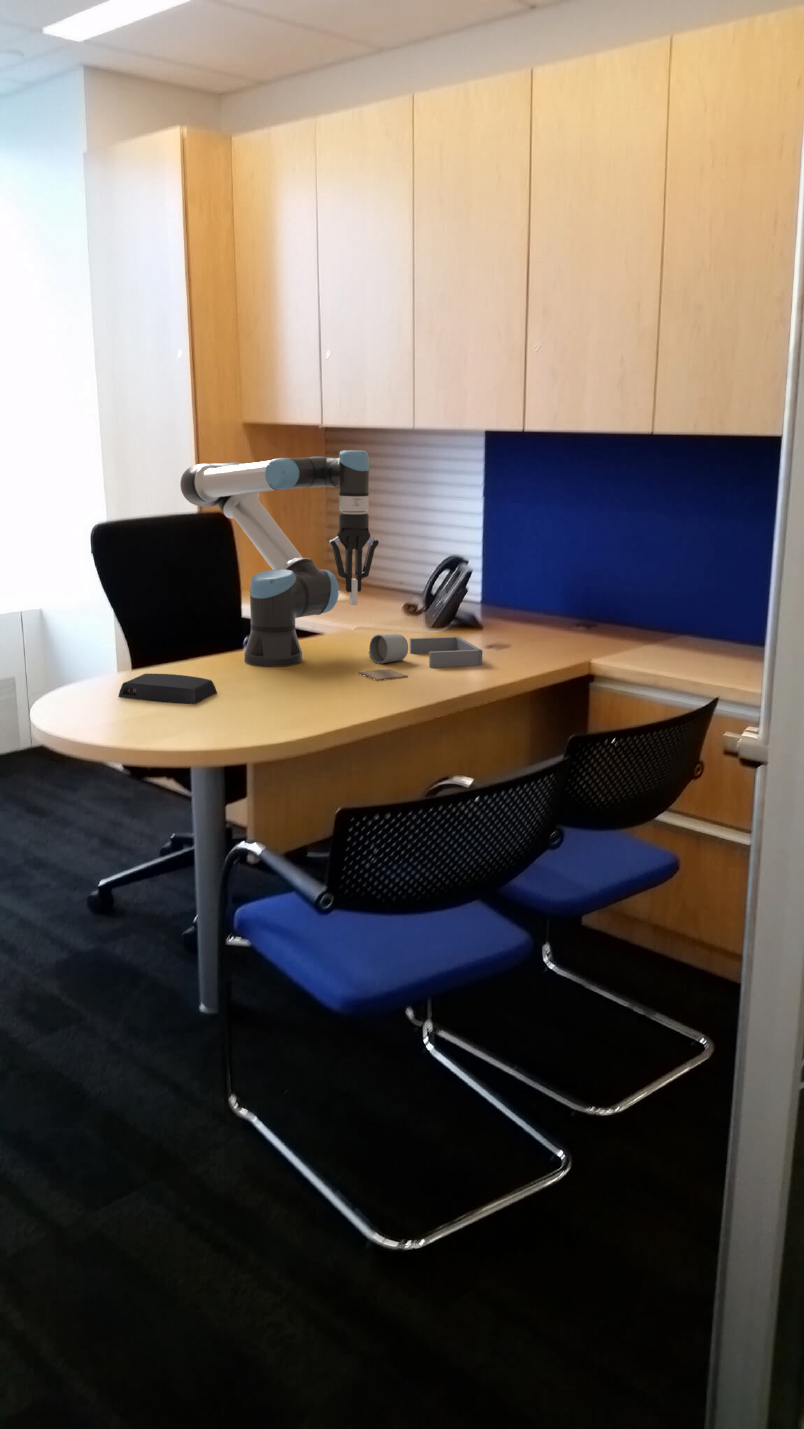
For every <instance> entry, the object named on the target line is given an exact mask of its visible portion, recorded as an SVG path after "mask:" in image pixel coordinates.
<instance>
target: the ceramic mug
mask: <svg viewBox="0 0 804 1429" xmlns="http://www.w3.org/2000/svg"><path fill="white" fill-rule="evenodd" d="M408 652H409V644H408V640H407V639H406V638H405V636H403V635H402V634H399V633H388V634H387V633H386V634H384V633H381V634H379V633H378V634H375V635H374V636H373V637H372V638H371V640H370V642H369V651H368V655H369V658H371V659H372V660H373V661H374V662H375V663H376V664H379V663H381V665H382V664H388V663H393V662H399V661H402V660H404V659H406V658H407V655H408Z"/></svg>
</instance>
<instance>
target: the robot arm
mask: <svg viewBox="0 0 804 1429" xmlns="http://www.w3.org/2000/svg"><path fill="white" fill-rule="evenodd" d="M369 456H370V455H369V453H368V452H367V450H366V451H365V450H350V449H349V450H345V449H344V450H341V451H340V452H339V456H338V457H328V456H321V455H320V456H311V457H310V456H309V457H278V458H273V459H271V460H264V461H259V462H249V463H240V462H233V461H232V462H231V461H230V462H226V463H223V462H222V463H218V462H217V463H197V464H193V465H191V466H189V467H188V468H186V470H185V471H184V472H183V474H182V475H181V478H180V492H181V494H182V496H183V497H184V499H186V500H187V501H188V502H189V503H190V504H192V505H194V506H196V507H205V508H206V507H218V509H219V510H220V511H221V512H222V513H223V515H224V516H225V517H226V518H228V519H234V521H236V523H237V525H238V526H239V527H240V528H241V530H242V531H243V532H244V534H245V535H246V536H247V538H248V539H249V541H251V542H252V544H253V546H254V547H255V548H256V550H257V551H258V552H259V554H260V555H261V556H262V557H263V559H264V560H265V562H266V563H267V564H268V566H269V567H270V568H271V569H270V570H263V571H261V572H258V573H255V574H254V575H253V576H252V577H251V578H250V586H249V587H250V589H249V602H250V603H249V606H250V608H249V609H250V634H249V636H248V641H247V643H246V646H245V649H244V662H245V663H246V664H249V665H253V666H260V667H286V666H287V667H288V666H293V665H297V664H301V662H302V661H303V651H302V648H301V646H300V645H301V644H300V642H299V639H298V636H297V632H296V619H298V618H304V617H310V616H320V615H322V614H325V613H328V612H330V611H332V610H333V609H334V607H336V604H337V602H338V598H339V589H340V588H339V583H338V580H337V578H336V576H335V574H334V573H333V572H331V571H330V570H329V569H322V568H321V569H320V568H319V567H318V566H317V565H316V564H315V562H314V561H313V560H312V559H311V558H309V557H303V556H302V554H301V553H300V551H298V549H297V548H296V546H295V545H294V544H293V543H292V542H291V540H290V539H289V538H288V536H287V534H285V533H284V531H283V529H282V528H281V527H280V526H279V525H278V523H277V522H276V521H275V519H274V518H273V517H272V515H271V514H270V513H269V512H268V510H267V509H266V508H265V506H264V505H263V504H262V503H261V501H260V497H261V496H260V493H264V492H273V491H283V490H290V489H291V490H292V489H293V490H294V489H306V488H307V489H308V488H309V489H310V488H312V489H313V488H337V489H338V488H339V491H338V492H339V495H338V497H339V501H338V502H339V503H338V505H339V506H338V511H340V513H339V516H338V518H339V519H338V520H339V521H338V524H339V525H338V532H337V534H336V537H334V538H333V539H329V541H328V544H329V546H330V547H331V548H332V552H333V556H334V560H335V565H336V569H337V573H338V576H339V577H341V578H343V579H345V591H346V593H349V599H348V600H349V605H351V606H358V593H361V591H362V580H363V579H365V578H367V577H369V574H370V570H371V567H372V566H371V565H372V562H373V558H374V554H375V550H376V548H377V547H378V545H379V540H377V539H376V538H373V537H372V536H371V532H370V530H369V526H370V525H369V523H370V522H369V519H370V518H369V516H370V515H369V514H368V512H369V509H370V507H369V506H370V505H369V504H370V503H369V502H370V501H369V500H370V499H369V498H370V496H369V495H370V492H369V491H370V490H369V488H370V487H369V486H370V484H369V483H370V470H371V468H370V458H369ZM340 543H341V544H342V546H343V547H344V553H345V565H344V563H343V559H342V554H341V551H340V548H339V546H340ZM366 544H367V545H368V547H367V550H366V554H365V558H364V562H363V548H364V547H365V545H366ZM353 550H354V552H353ZM353 553H354V554H355V555H354V557H355V558H354V572H355V573H354V578H353ZM344 566H345V567H344Z"/></svg>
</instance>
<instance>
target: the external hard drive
mask: <svg viewBox="0 0 804 1429" xmlns="http://www.w3.org/2000/svg"><path fill="white" fill-rule="evenodd" d="M217 693H218V691H217V688H216V686H215V683H214V682H213V680H212V679H208V678H204V677H198V676H192V675H183V674H173V673H170V674H169V673H143V674H141V675H139V676H137V677H134V678H132V679H130V680H128V681H124V682H123V683H122V684H121V686H120V689H119V692H118V698H121V699H122V698H123V699H130V700H137V701H146V702H155V703H166V704H167V703H168V704H179V705H193V706H194V705H197V704H199V703H201V702H203V701H204V700H206V699H208V698H210V697H212V696H214V695H216V694H217Z"/></svg>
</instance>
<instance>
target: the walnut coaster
mask: <svg viewBox="0 0 804 1429" xmlns="http://www.w3.org/2000/svg"><path fill="white" fill-rule="evenodd" d="M359 673H360V674H361V675H360V674H359ZM358 674H359V675H360V676H363V675H365V676H366V678H368V677H370V678H372V679H375V680H381V681H385V680H384V679H390V680H395V679H397V678H398V679H404V678H405V677H407V678H408V674H405V673H402V672H399V671H396V670H394V669H391V668H383V669H376V670H366V671H358ZM365 676H364V677H365ZM370 678H369V679H370ZM372 679H371V680H372ZM405 679H406V678H405ZM375 680H374V681H375Z"/></svg>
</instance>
